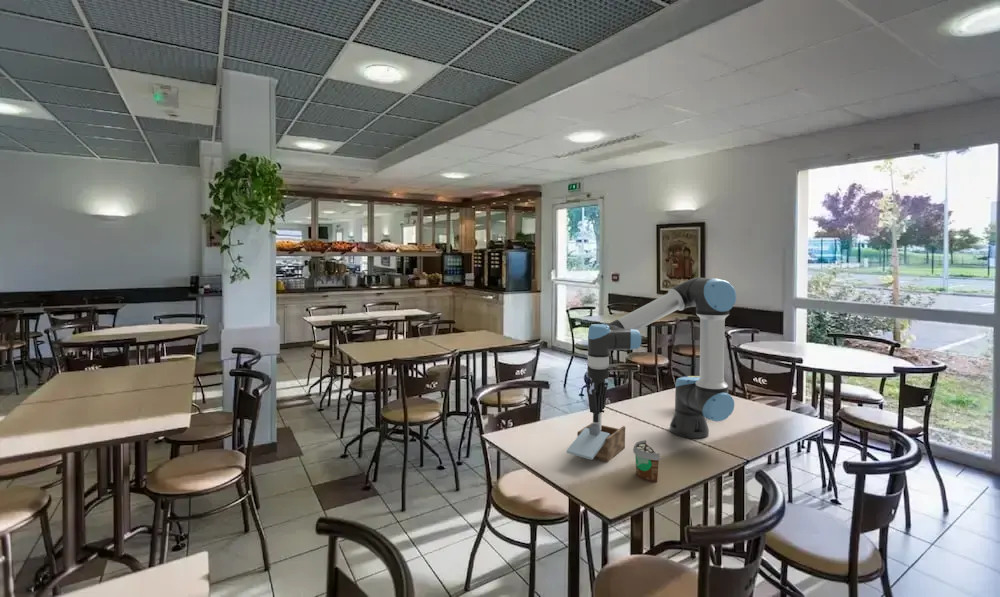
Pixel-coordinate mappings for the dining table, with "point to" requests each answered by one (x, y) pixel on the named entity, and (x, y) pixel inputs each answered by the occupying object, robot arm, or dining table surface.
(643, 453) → the food container
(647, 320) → the robot arm
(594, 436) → the cover plate
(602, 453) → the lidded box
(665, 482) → the dining table surface
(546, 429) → the dining table surface
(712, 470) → the dining table surface
